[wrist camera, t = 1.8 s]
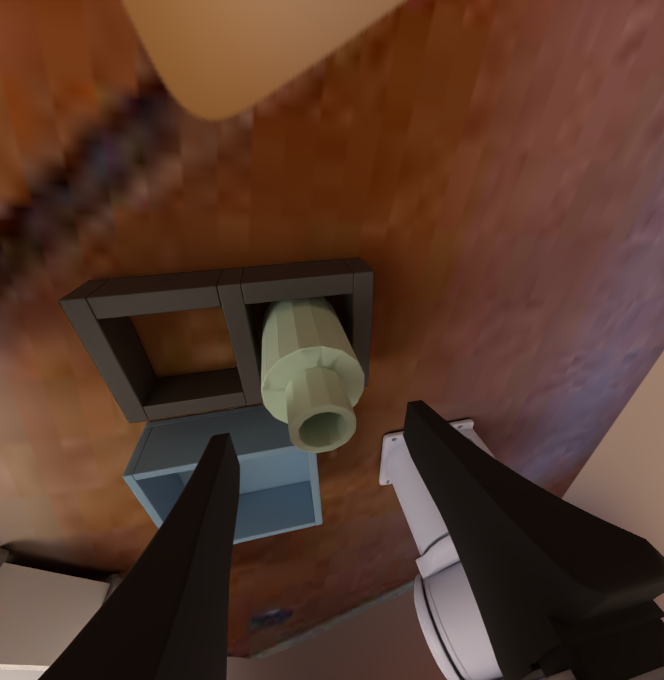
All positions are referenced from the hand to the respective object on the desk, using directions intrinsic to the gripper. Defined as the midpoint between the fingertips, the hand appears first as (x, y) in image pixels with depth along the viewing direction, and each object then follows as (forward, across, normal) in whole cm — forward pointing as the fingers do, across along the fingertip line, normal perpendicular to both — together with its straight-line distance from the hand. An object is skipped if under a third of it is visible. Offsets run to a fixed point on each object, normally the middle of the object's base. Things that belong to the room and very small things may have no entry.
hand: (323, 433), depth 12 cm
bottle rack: (+10, +4, 0) cm, 10 cm away
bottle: (+10, 0, 0) cm, 10 cm away
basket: (+10, +6, +12) cm, 17 cm away
